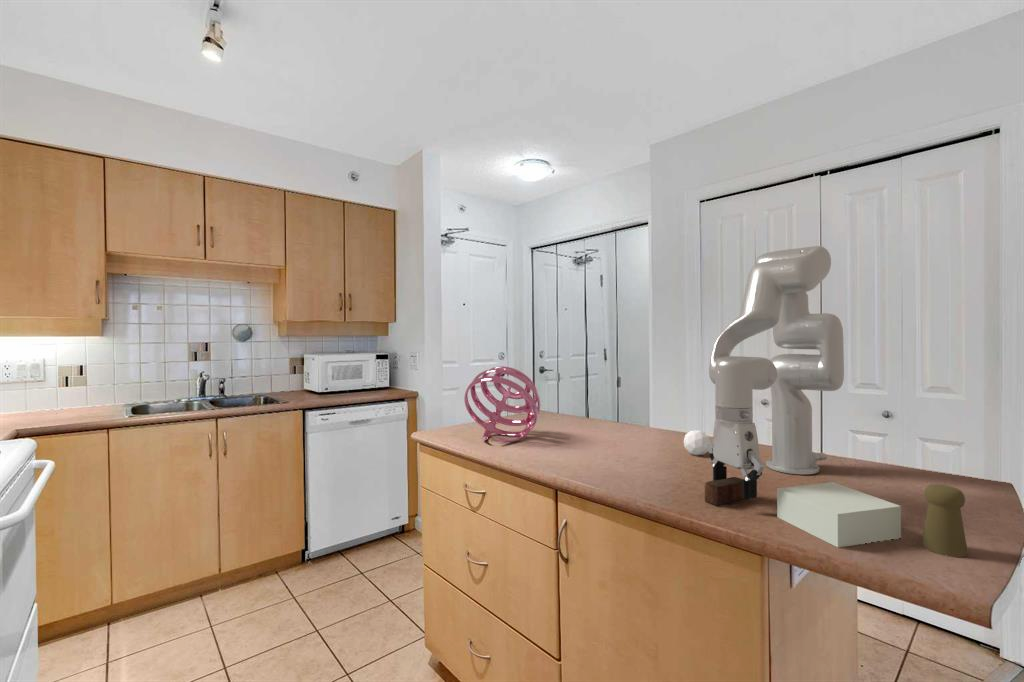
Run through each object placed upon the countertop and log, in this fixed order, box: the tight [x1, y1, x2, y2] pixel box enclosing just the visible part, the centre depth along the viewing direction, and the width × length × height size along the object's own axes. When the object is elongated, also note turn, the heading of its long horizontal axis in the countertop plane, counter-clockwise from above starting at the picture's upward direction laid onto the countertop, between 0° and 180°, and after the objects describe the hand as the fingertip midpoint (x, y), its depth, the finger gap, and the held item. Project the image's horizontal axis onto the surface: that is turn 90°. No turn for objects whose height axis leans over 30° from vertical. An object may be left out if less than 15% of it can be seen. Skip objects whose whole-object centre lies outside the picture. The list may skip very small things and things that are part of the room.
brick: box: [704, 476, 750, 508], centre depth 106 cm, size 11×4×5 cm, turn 115°
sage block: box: [776, 481, 902, 548], centre depth 91 cm, size 14×14×6 cm
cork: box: [920, 483, 969, 558], centre depth 81 cm, size 6×6×11 cm
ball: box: [683, 429, 712, 456], centre depth 145 cm, size 8×8×8 cm
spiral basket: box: [464, 366, 541, 443], centre depth 170 cm, size 28×28×27 cm
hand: (734, 490), depth 104 cm, fingers open, 9 cm apart
